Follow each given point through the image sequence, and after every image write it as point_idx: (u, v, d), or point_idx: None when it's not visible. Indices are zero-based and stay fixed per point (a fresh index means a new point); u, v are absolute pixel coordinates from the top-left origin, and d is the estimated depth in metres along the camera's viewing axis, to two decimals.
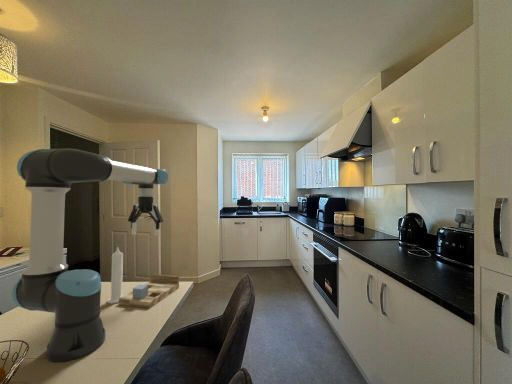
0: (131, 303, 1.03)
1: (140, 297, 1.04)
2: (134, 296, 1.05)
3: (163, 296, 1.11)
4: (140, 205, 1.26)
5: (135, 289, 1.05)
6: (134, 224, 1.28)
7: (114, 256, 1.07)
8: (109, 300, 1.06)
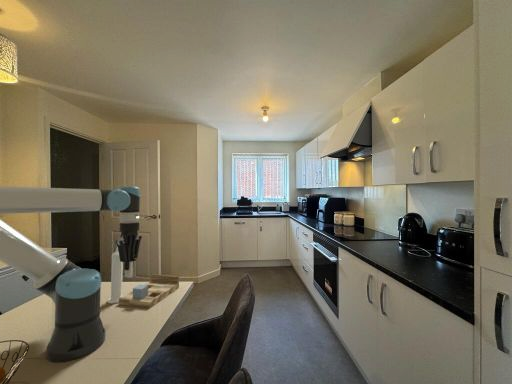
0: (131, 303, 1.03)
1: (140, 297, 1.04)
2: (134, 296, 1.05)
3: (163, 296, 1.11)
4: None
5: (135, 289, 1.05)
6: None
7: (114, 256, 1.07)
8: (109, 300, 1.06)
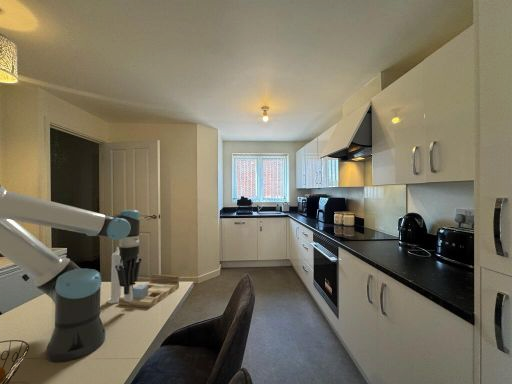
0: (131, 303, 1.03)
1: (140, 297, 1.04)
2: (134, 296, 1.05)
3: (163, 296, 1.11)
4: None
5: (135, 289, 1.05)
6: None
7: (114, 256, 1.07)
8: (109, 300, 1.06)
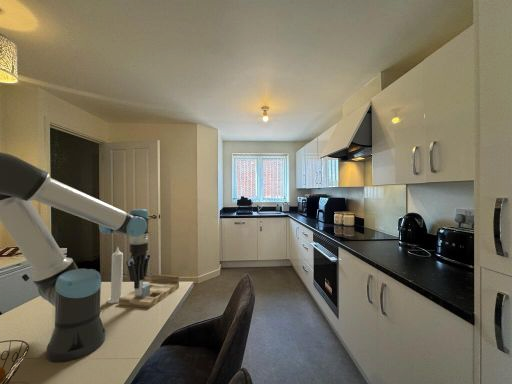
0: (131, 303, 1.03)
1: (142, 296, 1.05)
2: None
3: (163, 296, 1.11)
4: None
5: None
6: None
7: (114, 256, 1.07)
8: (109, 300, 1.06)
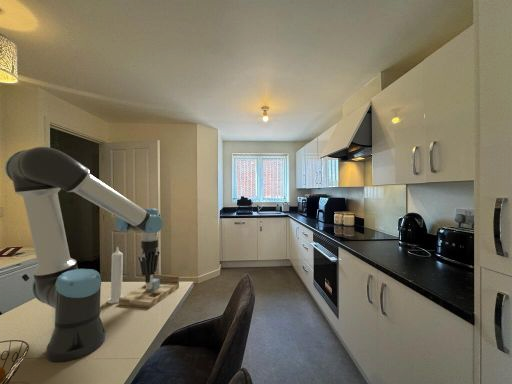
0: (131, 303, 1.03)
1: (153, 289, 1.13)
2: None
3: (163, 296, 1.11)
4: None
5: None
6: None
7: (114, 256, 1.07)
8: (109, 300, 1.06)
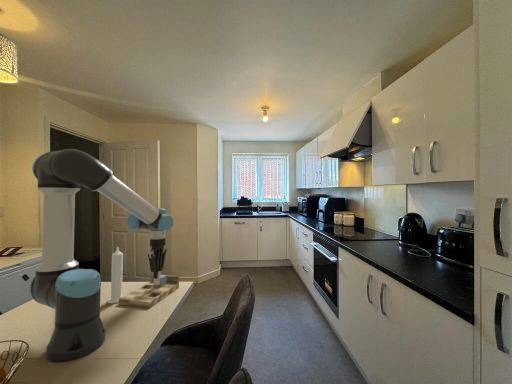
0: (131, 303, 1.03)
1: (160, 285, 1.19)
2: None
3: (163, 296, 1.11)
4: None
5: None
6: None
7: (114, 256, 1.07)
8: (109, 300, 1.06)
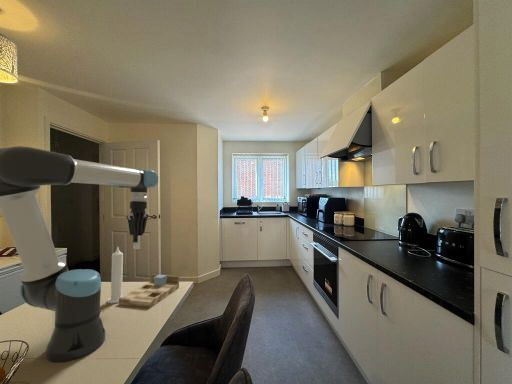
0: (131, 303, 1.03)
1: (160, 285, 1.19)
2: (155, 283, 1.20)
3: (163, 296, 1.11)
4: None
5: (156, 278, 1.20)
6: None
7: (114, 256, 1.07)
8: (109, 300, 1.06)
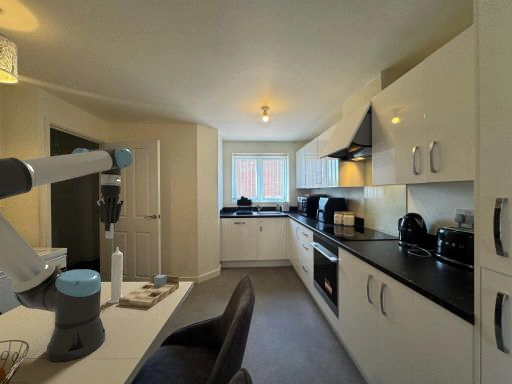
0: (131, 303, 1.03)
1: (160, 285, 1.19)
2: (155, 283, 1.20)
3: (163, 296, 1.11)
4: None
5: (156, 278, 1.20)
6: None
7: (114, 256, 1.07)
8: (109, 300, 1.06)
